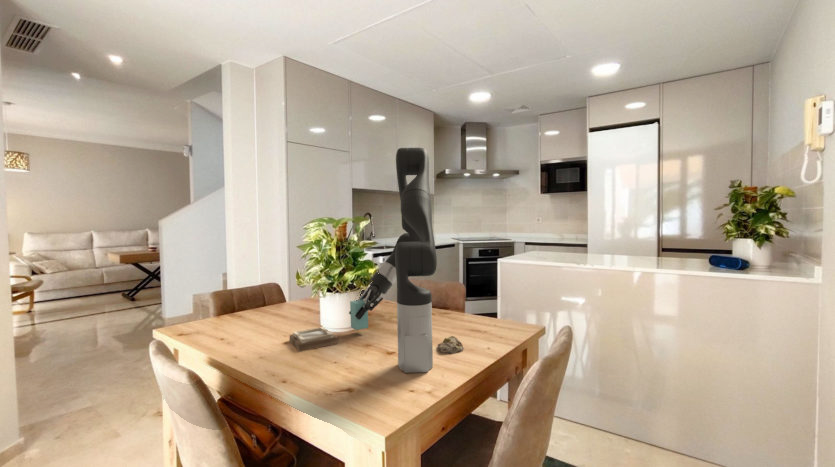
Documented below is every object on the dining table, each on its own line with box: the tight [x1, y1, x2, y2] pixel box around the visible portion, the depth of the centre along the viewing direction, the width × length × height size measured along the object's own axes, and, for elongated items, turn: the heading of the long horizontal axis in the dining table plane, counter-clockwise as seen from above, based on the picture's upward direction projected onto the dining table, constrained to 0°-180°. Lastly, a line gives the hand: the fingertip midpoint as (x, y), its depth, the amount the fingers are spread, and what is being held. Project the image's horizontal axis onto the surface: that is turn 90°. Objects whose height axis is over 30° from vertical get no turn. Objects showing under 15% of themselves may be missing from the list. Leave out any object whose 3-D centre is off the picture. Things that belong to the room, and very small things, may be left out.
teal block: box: [349, 299, 369, 331], centre depth 130 cm, size 4×4×9 cm
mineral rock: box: [437, 335, 465, 354], centre depth 115 cm, size 11×4×8 cm
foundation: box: [289, 326, 339, 352], centre depth 122 cm, size 12×12×3 cm
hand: (354, 316), depth 129 cm, fingers closed on teal block, 4 cm apart
